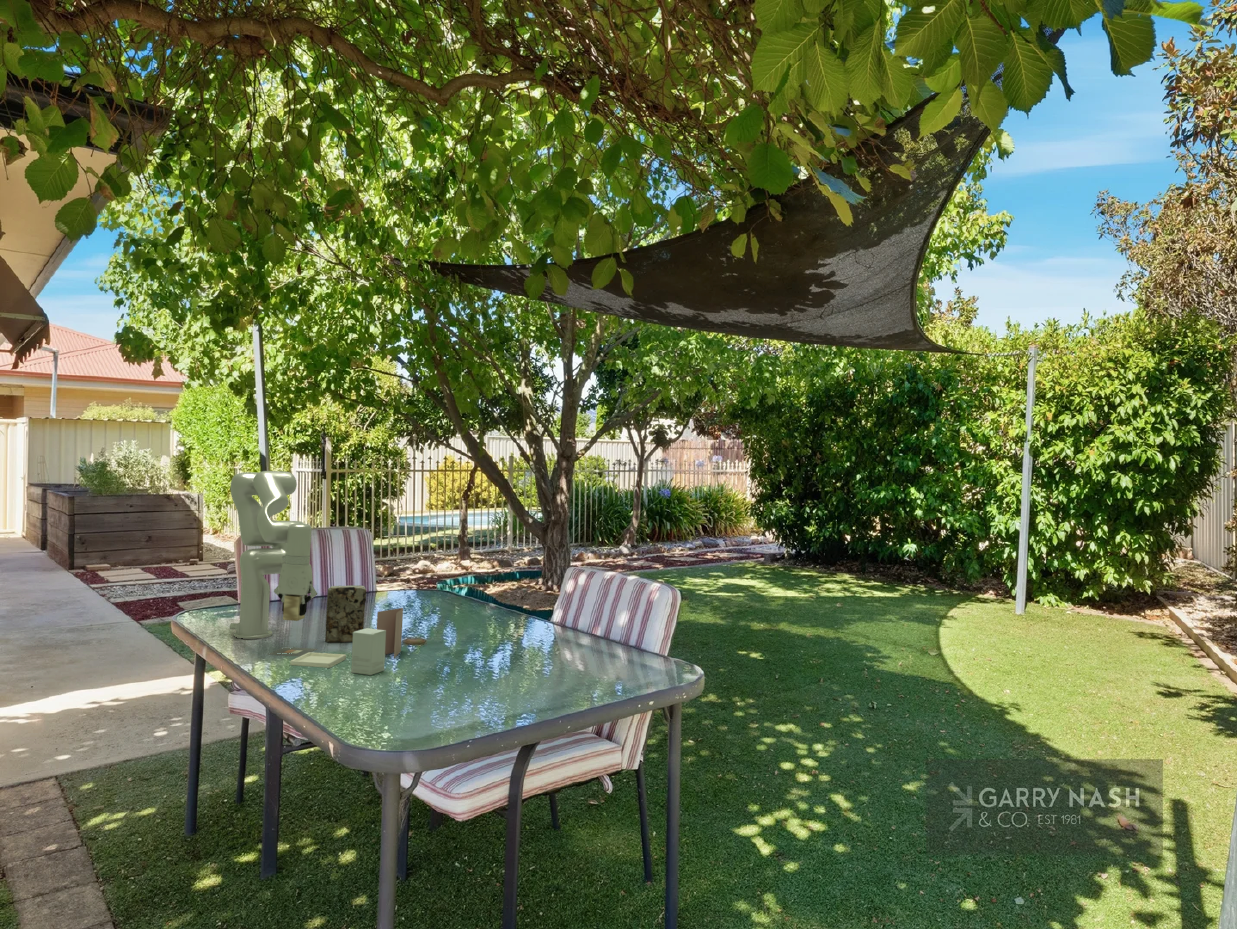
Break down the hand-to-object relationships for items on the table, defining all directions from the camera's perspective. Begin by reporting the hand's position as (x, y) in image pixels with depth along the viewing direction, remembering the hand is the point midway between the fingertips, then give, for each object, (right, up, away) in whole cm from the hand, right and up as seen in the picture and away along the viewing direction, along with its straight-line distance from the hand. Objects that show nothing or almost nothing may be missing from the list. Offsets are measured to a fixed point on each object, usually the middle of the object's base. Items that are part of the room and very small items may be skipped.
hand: (294, 613), depth 265 cm
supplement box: (+31, -14, -21) cm, 40 cm away
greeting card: (+33, -15, +2) cm, 36 cm away
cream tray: (+13, -13, -13) cm, 22 cm away
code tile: (0, -13, -1) cm, 13 cm away
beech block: (0, -2, 0) cm, 2 cm away
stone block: (+10, -14, +19) cm, 25 cm away
